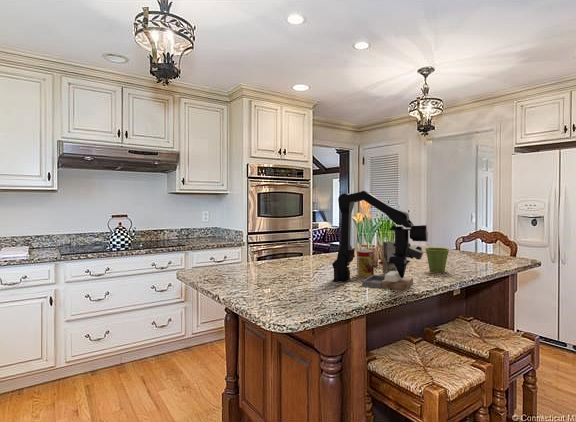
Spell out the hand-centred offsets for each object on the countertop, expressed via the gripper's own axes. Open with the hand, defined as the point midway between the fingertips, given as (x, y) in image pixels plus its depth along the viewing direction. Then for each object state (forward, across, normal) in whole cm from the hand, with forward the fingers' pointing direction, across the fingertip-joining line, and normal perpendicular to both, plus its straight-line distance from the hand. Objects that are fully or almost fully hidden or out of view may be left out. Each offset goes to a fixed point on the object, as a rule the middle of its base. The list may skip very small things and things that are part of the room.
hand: (402, 277), depth 154 cm
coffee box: (+4, +20, +10) cm, 23 cm away
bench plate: (+4, 0, +2) cm, 4 cm away
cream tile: (+1, 0, +4) cm, 4 cm away
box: (+3, 0, +11) cm, 11 cm away
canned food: (+4, +14, +21) cm, 26 cm away
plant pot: (+4, +40, -8) cm, 41 cm away
